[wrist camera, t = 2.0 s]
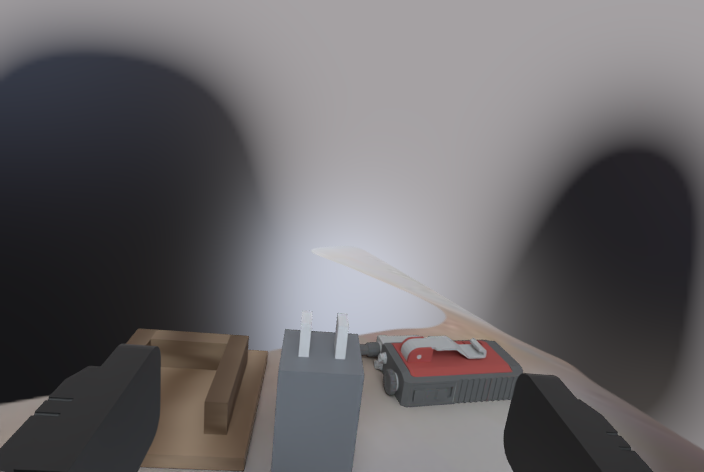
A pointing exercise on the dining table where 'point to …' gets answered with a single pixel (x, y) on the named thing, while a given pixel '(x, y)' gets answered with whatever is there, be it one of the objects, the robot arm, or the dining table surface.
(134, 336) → the tray
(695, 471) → the dining table surface
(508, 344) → the dining table surface
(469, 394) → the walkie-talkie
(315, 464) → the connector plug
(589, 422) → the robot arm
